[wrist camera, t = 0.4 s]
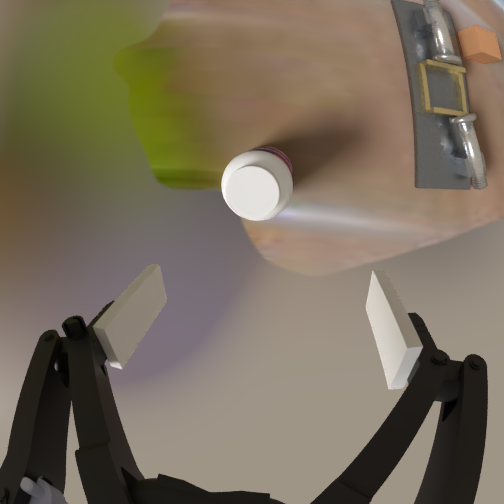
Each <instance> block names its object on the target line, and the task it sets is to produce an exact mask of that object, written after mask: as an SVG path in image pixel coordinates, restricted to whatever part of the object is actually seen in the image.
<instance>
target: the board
mask: <svg viewBox="0 0 504 504" xmlns="http://www.w3.org/2000/svg"><path fill="white" fill-rule="evenodd" d="M391 4H392V8H393V11H394V15H395V18H396V22H397V26H398V30H399V34H400V38H401V43H402V47H403V52H404V57H405V62H406V68H407V74H408V81H409V88H410V96H411V104H412V115H413V127H414V146H415V187H416V188H434V189H464V190H470V180H471V177H469V178H467V177H465V176H462V175H460V174H458V172H457V168H456V164H455V160H454V156H456V155H458V154H461V153H464V152H465V151H464V147H463V143H462V140H461V136H460V133H459V130H458V127H457V124H450V121H449V117H451V116H461V115H464V114H467V113H469V105H468V96H467V89H466V82H465V76H464V73H466V69H465V68H463V65H460V66H455V65H451V64H447V63H443V62H438V61H434V60H433V59H432V56H433V55H434V54H438V53H437V49H436V44H435V40H434V36H433V32H430V31H425V30H421V29H419V28H418V24H417V20H416V17H415V13H416V12H418V11H419V10H420V9H421V8H422V7H423V8H425V5H421V4H417V3H413V2H408V1H403V0H391ZM443 13H444V14H446V16H447V19H448V23H449V26H450V29H451V30H449V34H450V38H451V42H452V46H453V50H454V55H457V56H459V57H460V58H461V55H460V50H459V46H458V42H457V38H456V34H455V31H454V27H453V24H452V20H451V17H450V14H449V12H446V11H443Z"/></svg>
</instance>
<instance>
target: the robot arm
mask: <svg viewBox="0 0 504 504" xmlns="http://www.w3.org/2000/svg"><path fill="white" fill-rule="evenodd" d="M166 301H167V297H166V293H165V288H164V284H163V279H162V274H161V270H160V265H158V264H157V265H156V264H149V265H148V266H147V267H146V268H145V269H144V270H143V271H142V272H141V273H140V274H139V276H138V277H137V278H136V279H135V280H134V281H133V282H132V283H131V284H130V285H129V286H128V287H127V288H126V290H125V291H124V292H123V293H122V294H121V295H120V296H119V297H118V298H117V299H116V301H112V302H110V303H109V304H107V305H106V306H105V307H104V308H103V309H102V310H101V312H99V314H98V316H96V317H95V318H94V319H93V320H92V321H91V323H90V324H89V325H88V326H87V327H86V324H85V322H84V320H83V318H82V317H81V316H77V315H76V316H72V317H69V318H68V319H66V320H65V321H64V322H63V324H62V328H63V330H64V332H65V334H66V336H67V337H60V336H59V334H58V332H57V331H56V330H48V331H46V332H44V333H43V334H42V335H41V336H40V338H39V341H38V343H37V346H36V348H35V351H34V354H33V356H32V359H31V362H30V365H29V368H28V371H27V373H26V377H25V380H24V383H23V386H22V389H21V393H20V397H19V400H18V404H17V408H16V412H15V416H14V420H13V424H12V429H11V434H10V439H9V446H8V451H7V455H6V457H5V460H4V462H3V464H2V466H1V468H0V504H68V503H67V502H66V501H65V497H64V496H63V494H64V488H65V477H66V450H67V436H68V425H69V416H70V415H69V414H70V407H71V400H72V406H73V413H74V420H75V425H76V431H77V437H78V442H79V450H76V451H75V457H76V462H77V466H78V470H79V474H80V478H81V482H82V485H83V489H84V492H85V495H86V498H87V501H88V504H285V503H283V502H280V501H278V500H275V499H271V498H270V494H269V493H257V492H246V491H232V492H208V491H206V490H203V489H201V488H199V487H196V486H194V485H193V484H190V483H188V482H186V481H184V480H180V479H176V478H173V477H169V476H166V475H162V474H159V475H158V477H157V478H150V479H145V478H144V476H143V475H142V474H141V472H140V471H139V469H138V467H137V465H136V462H135V460H134V457H133V455H132V452H131V449H130V447H129V444H128V442H127V439H126V436H125V433H124V430H123V427H122V424H121V421H120V417H119V414H118V411H117V407H116V404H115V400H114V397H113V393H112V389H111V385H110V381H109V377H108V373H107V368H106V366H105V364H104V363H105V361H106V360H107V359H108V361H109V363H110V365H111V366H112V367H116V368H120V369H123V368H124V366H125V364H126V363H127V361H128V360H129V358H130V357H131V355H132V353H133V351H134V350H135V349H136V347H137V345H138V344H139V342H140V340H141V339H142V338H143V336H144V334H145V333H146V332H147V330H148V329H149V327H150V326H151V324H152V323H153V321H154V320H155V318H156V317H157V315H158V314H159V312H160V311H161V309H162V308H163V306H164V305H165V303H166ZM366 311H367V314H368V317H369V320H370V323H371V327H372V330H373V333H374V337H375V340H376V343H377V347H378V350H379V353H380V357H381V361H382V364H383V368H384V372H385V376H386V380H387V384H388V388H389V390H390V389H400V388H404V386H405V384H406V382H407V380H408V383H409V385H408V387H407V388H406V390H405V391H404V393H403V395H402V396H401V398H400V399H399V401H398V402H397V404H396V405H395V407H394V408H393V410H392V411H391V413H390V414H389V416H388V417H387V419H386V420H385V421H384V423H383V424H382V425H381V427H380V428H379V430H378V431H377V432H376V434H375V435H374V436H373V437H372V439H371V440H370V441H369V443H368V444H367V445H366V446H365V448H364V449H363V450H362V451H361V452H360V454H359V455H358V456H357V457H356V458H355V459H354V461H353V462H352V463H351V464H350V465H349V466H348V467H347V469H346V470H345V471H344V472H343V473H342V474H341V475H340V476H339V477H338V478H337V479H335V481H333V482H332V483H331V484H330V485H329V486H328V487H327V488H326V489H325V490H324V491H323V492H322V493H321V494H320V495H319V496H318V497H317V498H316V499H315V500H314V501H313V502H311V503H310V504H369V503H370V502H371V500H372V497H373V496H374V495H375V493H376V492H377V491H378V490H379V488H380V487H381V486H382V484H383V483H384V482H385V481H386V479H387V478H388V476H389V475H390V474H391V472H392V471H393V469H394V468H395V467H396V465H397V464H398V462H399V461H400V459H401V458H402V456H403V455H404V453H405V452H406V450H407V448H408V447H409V445H410V444H411V442H412V440H413V439H414V437H415V435H416V434H417V432H418V430H419V428H420V427H421V425H422V423H423V421H424V419H425V418H426V415H427V414H428V412H429V410H430V408H431V406H432V404H433V402H434V401H440V402H442V403H441V410H440V415H439V420H438V425H437V430H436V434H435V439H434V443H433V447H432V451H431V454H430V458H429V462H428V465H427V468H426V471H425V475H424V478H423V481H422V484H421V487H420V489H419V492H418V495H417V497H416V500H415V502H414V504H474V500H475V496H476V492H477V488H478V483H479V478H480V473H481V468H482V461H483V455H484V448H485V438H486V428H487V409H488V406H487V405H488V380H487V365H486V362H485V361H484V359H483V358H481V357H480V356H478V355H476V354H471V355H468V356H467V357H466V358H465V360H464V361H463V362H461V361H454V360H450V358H449V356H448V355H447V354H446V353H445V352H443V351H442V350H438V349H437V347H436V345H435V343H434V341H433V339H432V337H431V335H430V333H429V332H428V329H427V327H426V326H425V323H424V321H423V320H422V318H421V317H420V316H419V315H418V314H416V313H407V312H406V310H405V308H404V306H403V304H402V302H401V300H400V298H399V296H398V294H397V292H396V290H395V288H394V287H393V285H392V283H391V281H390V279H389V277H388V275H387V274H386V272H385V270H373V271H372V277H371V283H370V288H369V293H368V299H367V303H366Z"/></svg>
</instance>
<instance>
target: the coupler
mask: <svg viewBox="0 0 504 504" xmlns="http://www.w3.org/2000/svg"><path fill="white" fill-rule="evenodd" d="M457 34H458V37H459V41H460V45H461V49H462V54H463V57H464V58H467V59H470V60H473V61H477V62H480V63H482V64H484V63H489V62H494V61H499V60H502V57H501V53H500V49H499V45H498V42H497V38H496V35H495V33H493V32H491V31H488V30H486V29H484V28H481V27H479V26H476V25H473V26H470V27H468V28H466V29H464V30H462V31H460V32H457Z"/></svg>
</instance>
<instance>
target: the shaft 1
mask: <svg viewBox="0 0 504 504" xmlns="http://www.w3.org/2000/svg"><path fill="white" fill-rule="evenodd" d="M423 2H424V5H425V8H423V7H422V8H421V9H420V10H419V11H418V12H416V13H415V17H416V20H417V24H418V28H419V29H421V30H425V31H430V32H433V36H434V40H435V44H436V49H437V53H438V54H434V55H433V56H432V59H433V60H434V61H438V62H443V63H447V64H451V65H455V66H460V65H462V60H461V58H460V57H459V56H457V55H454V50H453V46H452V42H451V38H450V34H449V30H451V29H450V26H449V23H448V19H447V16H446V14H444V13H443V10H442V7H441V5H440V2H439V0H423Z"/></svg>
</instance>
